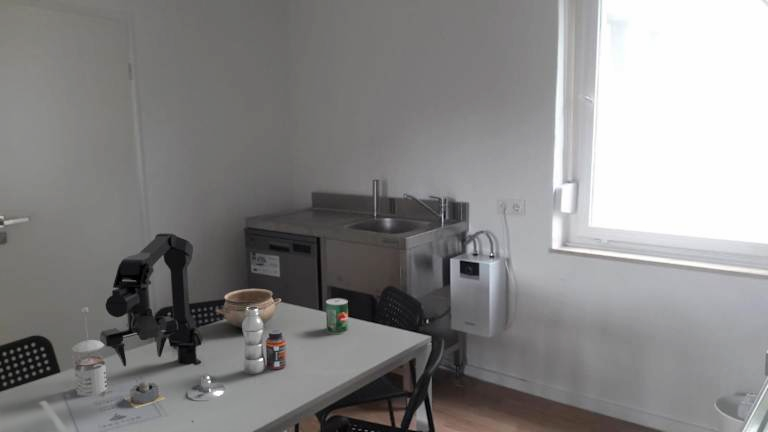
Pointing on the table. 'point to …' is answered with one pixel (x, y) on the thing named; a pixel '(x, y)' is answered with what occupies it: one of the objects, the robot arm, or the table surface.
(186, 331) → the robot arm
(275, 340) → the supplement bottle
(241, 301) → the cooking pot
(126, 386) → the table surface
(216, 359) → the table surface
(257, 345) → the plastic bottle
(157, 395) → the collar
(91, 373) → the french press
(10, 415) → the table surface
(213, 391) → the disc
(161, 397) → the stand
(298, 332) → the table surface
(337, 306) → the canned tomato
